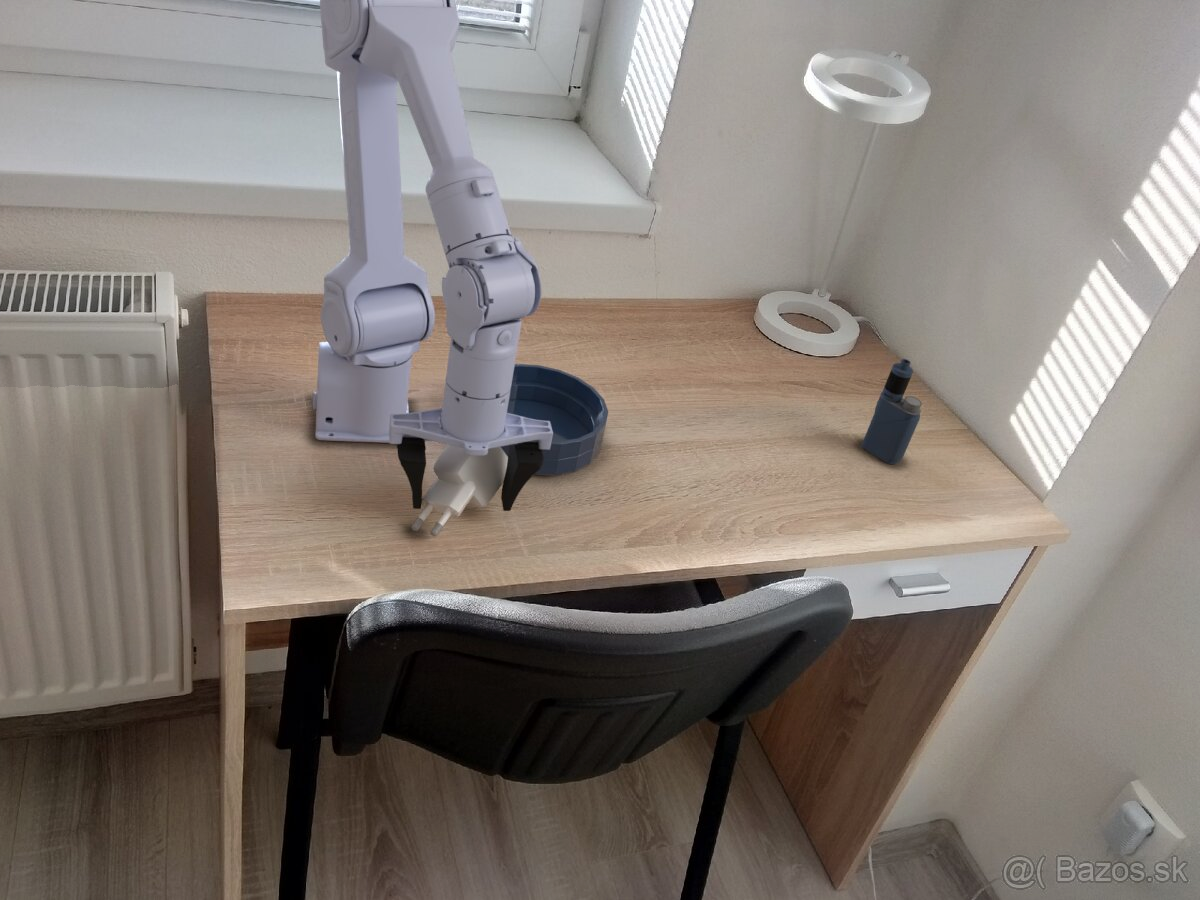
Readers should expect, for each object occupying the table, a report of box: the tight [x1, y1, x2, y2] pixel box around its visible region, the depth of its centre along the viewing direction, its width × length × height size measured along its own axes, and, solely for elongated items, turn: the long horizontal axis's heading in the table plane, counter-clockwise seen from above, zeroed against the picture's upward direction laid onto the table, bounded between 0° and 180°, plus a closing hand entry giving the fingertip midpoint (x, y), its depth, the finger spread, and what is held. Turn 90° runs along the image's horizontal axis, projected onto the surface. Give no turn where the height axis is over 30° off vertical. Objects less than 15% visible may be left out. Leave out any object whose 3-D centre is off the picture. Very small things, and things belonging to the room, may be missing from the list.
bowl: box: [501, 363, 609, 476], centre depth 112 cm, size 15×15×4 cm
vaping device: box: [860, 358, 923, 465], centre depth 120 cm, size 3×5×12 cm, turn 45°
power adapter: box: [411, 444, 508, 537], centre depth 98 cm, size 11×5×6 cm
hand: (461, 503), depth 99 cm, fingers open, 7 cm apart
